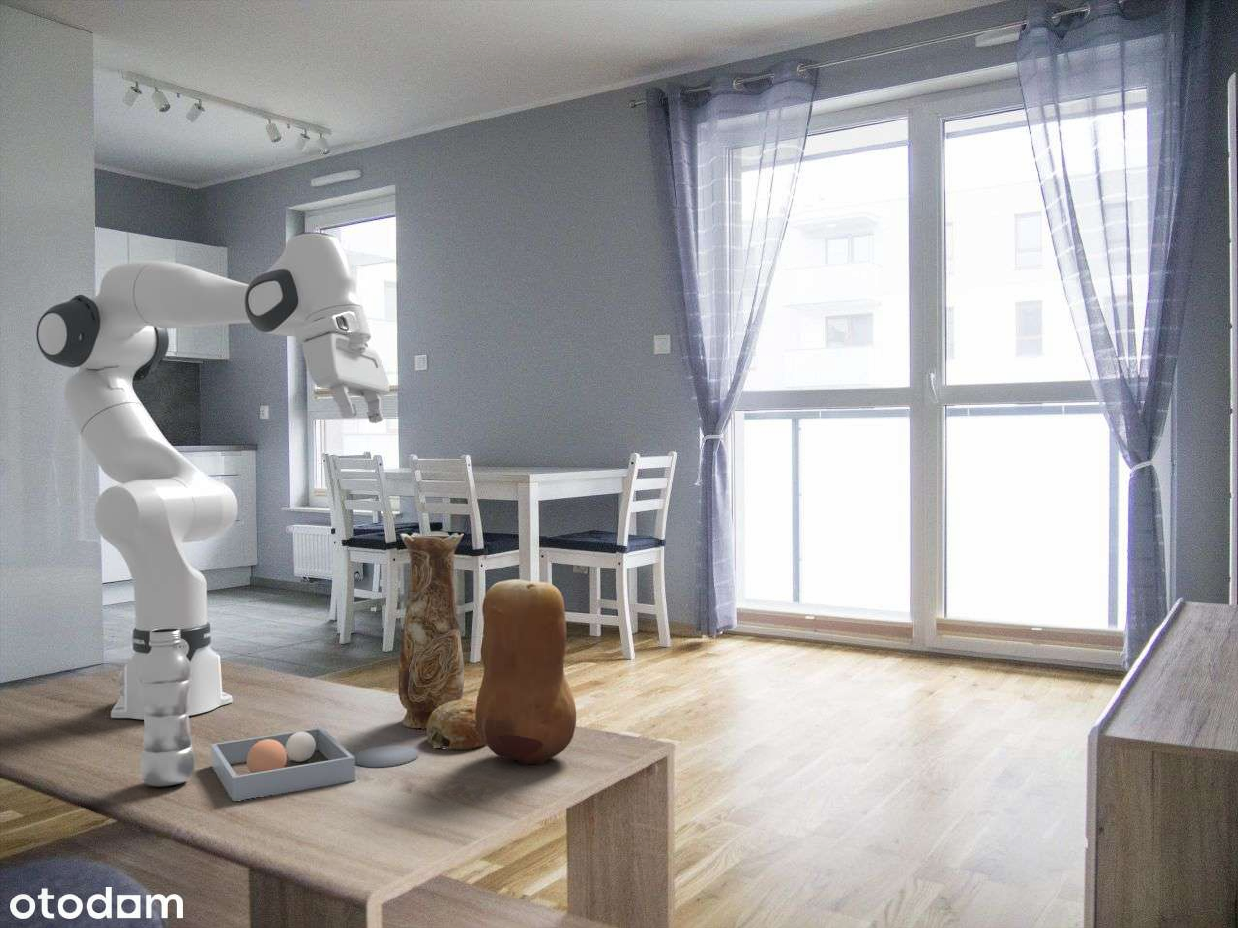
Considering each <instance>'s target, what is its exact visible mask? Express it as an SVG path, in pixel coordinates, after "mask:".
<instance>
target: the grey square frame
mask: <svg viewBox="0 0 1238 928" xmlns="http://www.w3.org/2000/svg"><path fill="white" fill-rule="evenodd" d="M297 732H306V733H309V734H310V735H312V736H313V738H314V740H315V743H316V748H315V751H319V750H320V751H321V752H320V751H319V752H320V753H321V754H322V755H323V756H324V757H325V756H326V759H328V760H323V761H318V762H316V761H315V762H313V763H312V762H311V763H307V764H306V763H305V764H301V765H293V766H288V767H284V768H281V769H275V770H269V771H263V772H257V773H251V772H250V773H246V774H241V775H238V774H237V773H236V772H235V769H234V768H233V767H232V765H235V764H240V763H247V756H248V753H249V751H250V749H251V748H252V747H253V746H254V745H255V744H256V743H258V742H260V741H262V740H266V739H271V740H276V741H278V742H279V743H281V744H282V745H283V746H284V748H285V750H286V743H287V741H288V739H289V738H290V737H291V736H292V735H293V734H295V733H297ZM210 762H211V763H210V765H211V766H210V767H211V768H212V767H213V768H212V770H213V769H214V770H213V772H216V773H215V775H216V774H217V775H216V776H217V778H218V777H219V778H218V780H219V779H220V780H219V781H220V783H221V782H222V783H221V784H222V786H223V785H224V786H223V788H224V787H225V788H224V789H225V791H226V793H227V792H228V793H227V795H228V796H229V797H231V798H232V799H231V798H230V799H231V801H232V800H233V801H238V800H244V801H246V800H245V799H250V798H255V799H257V798H256V797H261V796H266V797H270V796H269V795H272V796H276V795H282V793H283V794H288V793H293V792H299V791H304V790H310V789H315V788H320V787H326V786H331V785H337V784H342V783H347V782H355V781H356V764H355V757H354V755H353V754H352V753H351V752H349V751H348V750H347V749H346V748H345V747H344V746H343V745H341V743H340V742H338V741H337V740H336V739H335V738H334V737H333V736H332V735H330V734H329V733H328V732H327V731H326V730H325V729H324V728H322V727H317V728H310V729H305V730H295V731H292V732H291V731H290V732H289V731H288V732H284V733H278V734H277V733H276V734H271V735H264V736H263V735H262V736H258V737H251V738H250V737H249V738H244V739H237V740H232V741H231V740H230V741H225V742H218V743H212V744H210ZM261 798H262V797H261ZM250 800H251V799H250ZM233 801H232V802H233Z"/></svg>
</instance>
